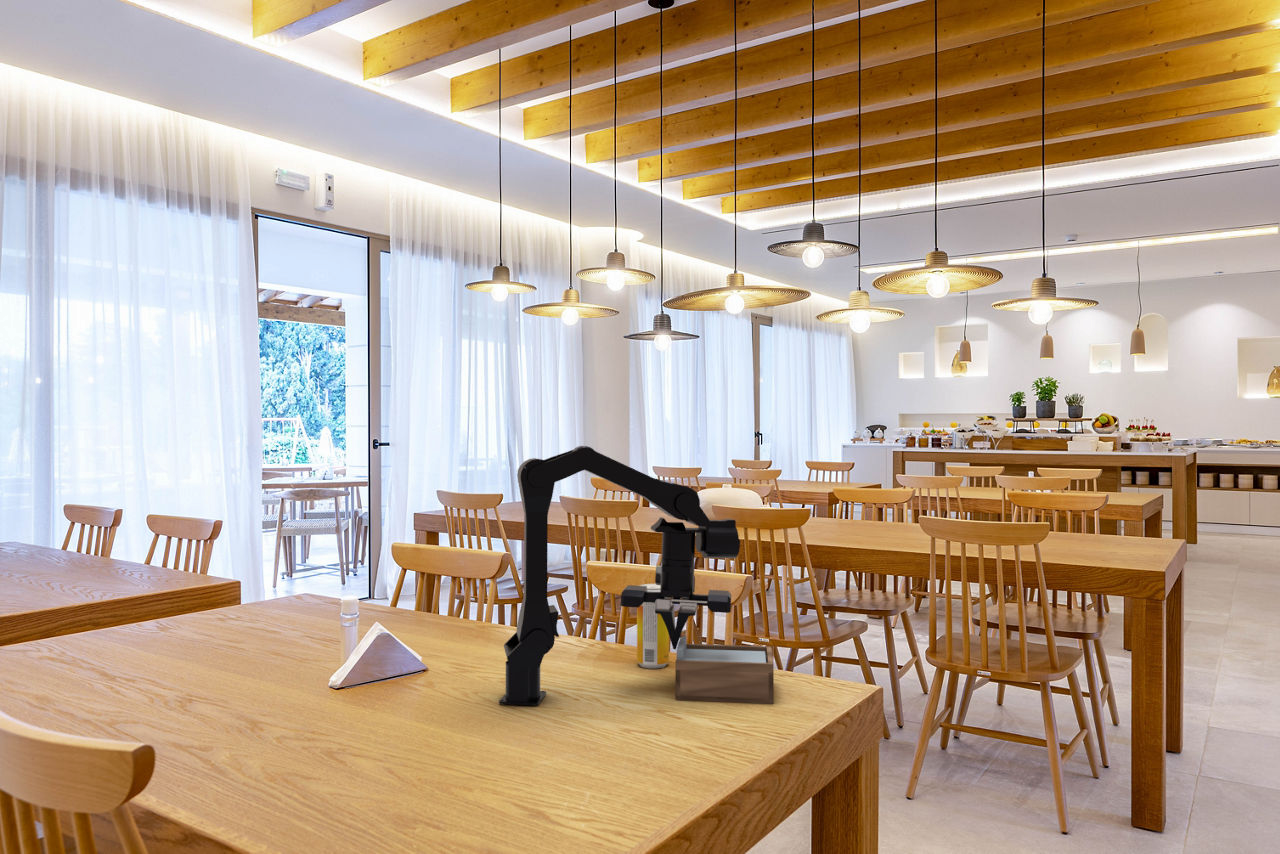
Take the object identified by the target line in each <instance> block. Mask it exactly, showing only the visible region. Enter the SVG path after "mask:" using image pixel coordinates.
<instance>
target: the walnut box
mask: <svg viewBox="0 0 1280 854" xmlns="http://www.w3.org/2000/svg"><path fill="white" fill-rule="evenodd" d="M687 649H707V650H739V651H765V656H766V663H754V662H724V661H694V660H677V659H675V666H674V667H675V668H674V669H675V674H674V675H675V680H674V681H675V689H674V690H675V691H674V692H675V693H674V694H675V701H688V702H690V701H691V702H692V701H693V702H713V703H714V702H715V703H716V702H717V703H719V702H720V703H736V704H737V703H741V704H766V705H767V704H768V705H774V699H775V698H774V695H775V693H774V691H775V690H774V689H775V688H774V685H775V684H774V681H775V680H774V676H775V675H774V673H775V672H774V670H775V668H774V664H775V663H774V658H773V651H772V646H767V645H735V644H710V643H709V644H707V643H706V644H705V643H687Z"/></svg>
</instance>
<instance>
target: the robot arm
mask: <svg viewBox="0 0 1280 854" xmlns="http://www.w3.org/2000/svg"><path fill="white" fill-rule="evenodd" d="M583 471H586V472H588V473H590V474H592V475H594V476H595V477H596V476H597V477H599V478H601V479H603V480H605V481H607V482H610V483H612V484H614V485H616V486H618V487H621V488H623V489H625V490H628V491H630V492H631V493H634V494H636V495H638V496H640V497H642V498H644V500H646V501H647V502H649V503H650V504H652V506H654V507H655V508H657V509H658V510H659V511H661V512H662V513H664V514H665V515H667V516H669V517H672V518H674V519H677V520H680V521H667V520H666V519H665V518H664V517H659V519H657V521H656V522H655V523H654V524H653V525H651V526H650V530H651V531H652V532H655V533H662V535H661V536H662V537H661V563H660V565H658V566H657V565H656V567H655V577H654V578H655V579H654V584H656V585H661V587H660V592H650V591H647V586H640V585H631V584H628V585H626V587H625V588H624V589H623V590H622V591H621V594H620V606H621V607H623V608H637V607H640V606H641V605H642V604H643V602H651V603H655V605H656V609H655V613H656V614H660V615H661V617H662V619H663V621H664V623H665V625H666V627H667V630H668V633H669V641H670V642H671V643H670V644H671V647H672V649H673V650H677V647H678V644H679V641H680V637H681V636H682V635H681V634H682V631H683V629H684V627H685V625H686V623H687V621H688V620H689V617H691V616H692V617H693V616H694V617H695V616H696V615H697V610H698V609H697V608H698V606H703V607H704V606H706V607H707V608H708V610H710V611H711V613H724V614H727V613H728V614H730V613H731V612H732V611H731V608H732V594H731V592H730V591H729V590H723V589H722V590H718V589H709V590H708V593H707V594H703V593H702V594H700V593H695V591H696V590H695V589H696V588H695V587H696V578H695V553H696V552H697V553H700V554H701V557H702V558H703V559H737V558H738V556H739V553H740V547H741V539H740V536H739V531H738V529H737V527H736V526H737V525H736V524H737V522H736V520H735V519H732V518H724V519H710V518H708V516H707V515H706V512H704V510H703V509H702V507H701V506H700V505H701V500H700V497H699V494H698V492H697V491H696V490H695V489H694V488H692V487H691V486H690V487H689V486H686V485H682V484H678V483H675V482H670V481H666V480H663V479H659V478H656V477H655V478H654V477H652V476H650V475H648V474H646V473H643V472H641V471H639V470H637V469H634V468H633V467H631V466H629V465H626V464H624V463H622V462H620V461H617V460H616V459H613V458H612V457H609V456H607V455H605V454H603V453H600V452H598V451H596V450H594V448H593V447H590V446H586V445H578V446H576V447H575V448H573V449H571V450H568V451H566V452H563V453H559V454H557V455H554V456H550V457H548V458H545V459H541V458H536V457H533V458H528V459H526V460H525V461H523V462H522V464H520V465H519V467H518V469H517V474H516V476H517V483H518V489H519V493H520V494H519V495H520V498H521V504H522V510H523V514H524V518H523V520H524V522H523V523H524V524H523V525H524V526H523V531H524V532H523V541H524V542H523V547H524V548H523V578H524V579H523V599H522V602H521V607H520V609H519V613H518V619H517V626H516V632H515V633H514V634H513V635H512V636H511V637H510V638H509V639H508V640H506V642H505V643H504V645H503V648H504V652H505V656H506V661H505V693H504V695H503V696H502V697H501V698H500V699H499V700H498V704H500V705H513V706H519V705H520V706H538V705H539V704H540V703H541V702H542V701H543V699H544V698H545V696H546V695H547V691H546V690H541V664H542V662H543V659H544V656H545V655H546V654H548V653H549V652H550V650H552V649H553V647H554V645H555V639H556V638H559V637H560V635H559V632H558V627H557V626H558V619H559V611H558V609H557V607H556V606H555V605H554V604H551V605H549V600H548V527H549V525H548V522H549V521H548V519H549V517H548V515H549V510H550V507H551V502H552V499H553V495H554V494H553V493H554V489H555V483H557V482H560V481H562V480H564V479H567V478H570V477H571V476H573V475H576V474H578V473H580V472H583ZM682 521H685V522H687V523H689V524H691V525H695V526H697V527H686V526H685V523H684V522H682ZM675 605H679V608H678V612H677V617H676V616H675V615H676V614H675ZM675 617H676V618H675ZM555 637H556V638H555Z"/></svg>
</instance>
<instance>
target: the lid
mask: <svg viewBox="0 0 1280 854" xmlns="http://www.w3.org/2000/svg"><path fill="white" fill-rule="evenodd" d="M687 640H688V638H687V636H686V635H685V636H684V635H680V638H679V641H678V644H677V647H676V660H694V661H724V662H754V663H766V656H765V651H739V650H707V649H687V644H688V643H687Z"/></svg>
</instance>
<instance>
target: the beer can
mask: <svg viewBox="0 0 1280 854" xmlns="http://www.w3.org/2000/svg"><path fill="white" fill-rule="evenodd" d="M639 586H647V591H650V592H660V587H661V585H656V583H646V584H640V585H639ZM655 609H656V605H655V603H651V602H643V604H642V605H641V606H640V607H636V662H637V663H638V665H639V666H640V667H641V668H644V669H653V670H655V669H662V668H665V667H666V666H667V664H668V663H669V661H670V637H669V633H668V630H667V627H666V625H665V623H664V621H663V619H662V617H661V615H660V614H656V613H655Z"/></svg>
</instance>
